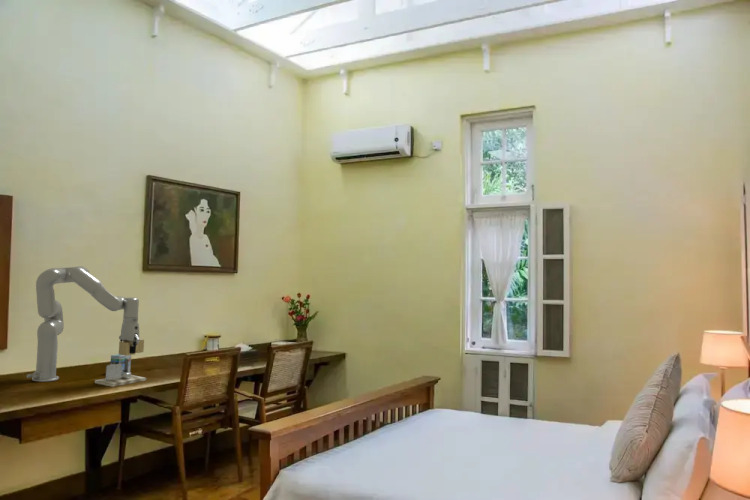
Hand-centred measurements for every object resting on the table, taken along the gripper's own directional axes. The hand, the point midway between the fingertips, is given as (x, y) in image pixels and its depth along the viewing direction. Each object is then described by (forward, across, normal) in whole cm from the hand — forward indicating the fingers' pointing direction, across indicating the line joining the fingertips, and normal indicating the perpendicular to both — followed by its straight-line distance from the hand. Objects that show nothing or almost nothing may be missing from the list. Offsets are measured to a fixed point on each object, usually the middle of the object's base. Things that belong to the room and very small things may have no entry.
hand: (128, 352), depth 328 cm
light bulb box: (+16, +20, -12) cm, 28 cm away
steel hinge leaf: (+14, 0, +6) cm, 15 cm away
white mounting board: (+16, 0, +4) cm, 16 cm away
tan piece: (+1, 0, -3) cm, 3 cm away
